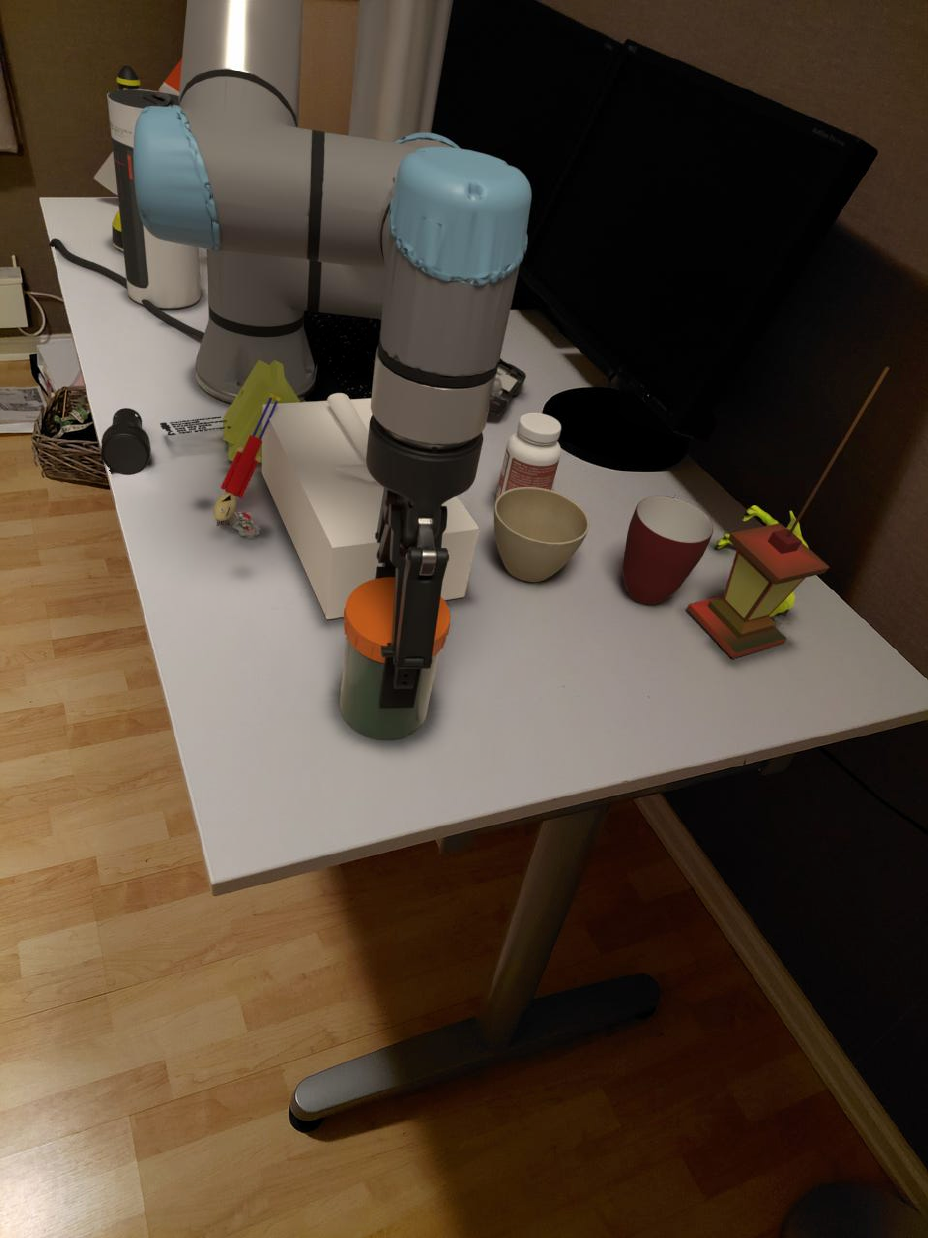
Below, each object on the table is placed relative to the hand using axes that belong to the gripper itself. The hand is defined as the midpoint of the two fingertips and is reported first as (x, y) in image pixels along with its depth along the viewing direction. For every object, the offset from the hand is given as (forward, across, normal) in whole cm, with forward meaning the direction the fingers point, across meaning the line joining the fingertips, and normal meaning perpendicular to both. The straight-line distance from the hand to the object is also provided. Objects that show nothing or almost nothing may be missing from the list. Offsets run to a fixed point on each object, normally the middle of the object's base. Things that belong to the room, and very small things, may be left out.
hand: (390, 664), depth 70 cm
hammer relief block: (+5, +25, 0) cm, 25 cm away
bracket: (-1, +40, +13) cm, 42 cm away
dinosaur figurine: (+6, +26, -45) cm, 52 cm away
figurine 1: (-3, +37, +10) cm, 38 cm away
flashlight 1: (+5, +99, +30) cm, 104 cm away
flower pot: (+5, +20, -18) cm, 27 cm away
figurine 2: (+5, +24, +13) cm, 27 cm away
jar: (+5, 0, 0) cm, 5 cm away
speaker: (+5, +81, +25) cm, 85 cm away
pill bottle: (+5, +31, -19) cm, 37 cm away
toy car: (+1, +56, -20) cm, 60 cm away
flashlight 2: (+5, +43, +22) cm, 49 cm away
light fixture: (+5, +10, -38) cm, 40 cm away
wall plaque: (+6, +115, +32) cm, 120 cm away
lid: (-6, 0, 0) cm, 6 cm away
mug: (+5, +16, -31) cm, 35 cm away
